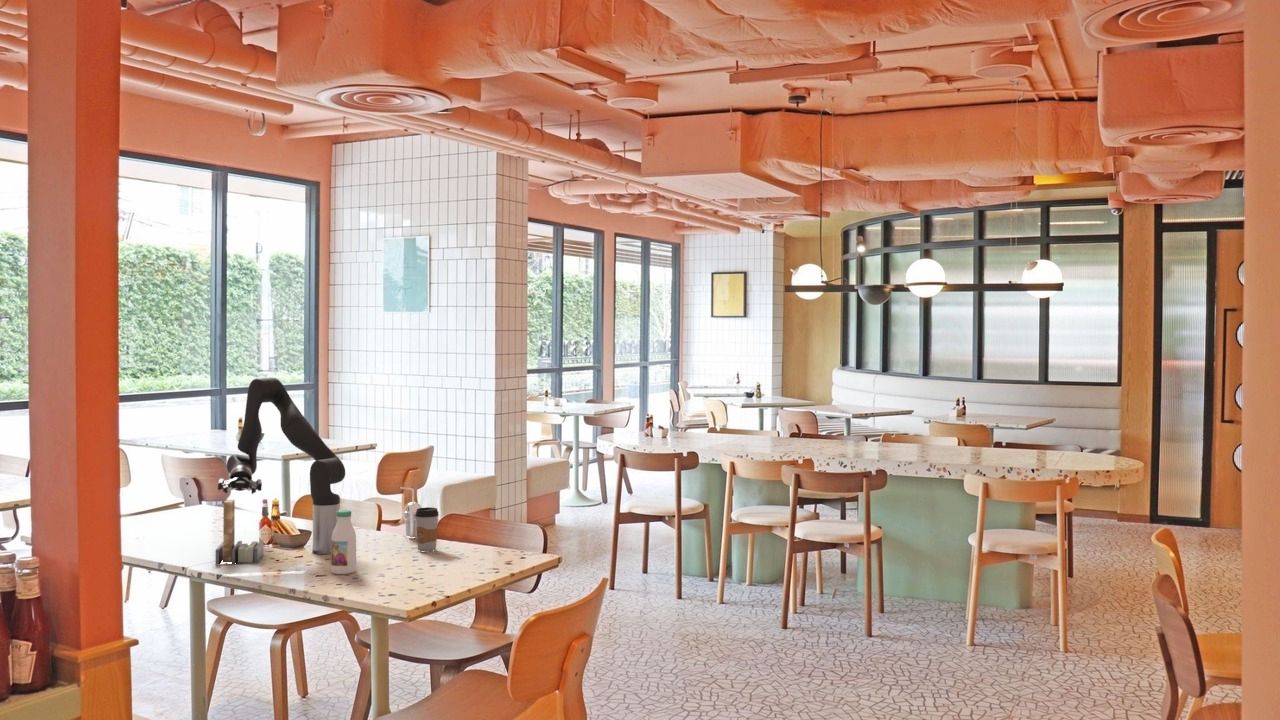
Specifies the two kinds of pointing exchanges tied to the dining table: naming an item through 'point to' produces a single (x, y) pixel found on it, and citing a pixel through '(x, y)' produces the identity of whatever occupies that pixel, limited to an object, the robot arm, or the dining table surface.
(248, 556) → the pale green grooved block
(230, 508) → the oak block
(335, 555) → the milk bottle
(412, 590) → the dining table surface
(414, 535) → the cup with straw
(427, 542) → the coffee cup
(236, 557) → the sheet rack
